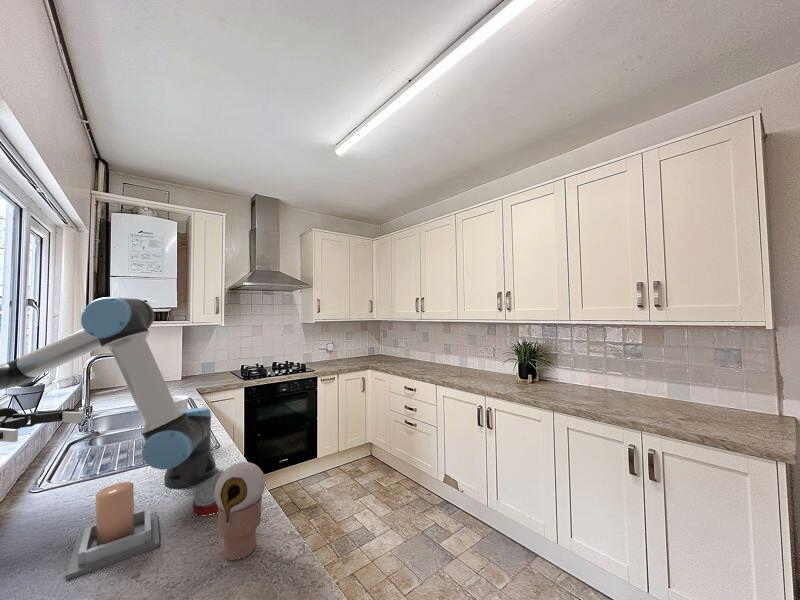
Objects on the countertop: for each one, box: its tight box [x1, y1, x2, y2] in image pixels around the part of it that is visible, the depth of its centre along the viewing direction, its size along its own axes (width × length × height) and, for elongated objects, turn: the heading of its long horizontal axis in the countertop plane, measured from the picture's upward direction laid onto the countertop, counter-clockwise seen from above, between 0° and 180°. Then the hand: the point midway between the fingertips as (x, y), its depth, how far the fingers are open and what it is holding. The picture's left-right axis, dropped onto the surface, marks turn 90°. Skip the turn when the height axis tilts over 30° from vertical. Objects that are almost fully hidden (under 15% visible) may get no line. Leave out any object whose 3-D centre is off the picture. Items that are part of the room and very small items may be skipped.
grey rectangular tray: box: [65, 507, 160, 581], centre depth 81 cm, size 16×16×4 cm
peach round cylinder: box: [95, 481, 135, 546], centre depth 81 cm, size 7×7×12 cm
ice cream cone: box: [214, 461, 266, 561], centre depth 78 cm, size 11×11×20 cm
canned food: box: [192, 471, 224, 515], centre depth 96 cm, size 11×10×10 cm
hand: (51, 426), depth 84 cm, fingers open, 13 cm apart
